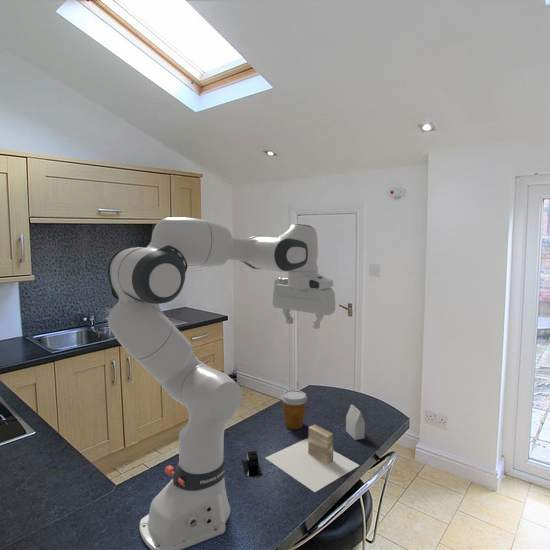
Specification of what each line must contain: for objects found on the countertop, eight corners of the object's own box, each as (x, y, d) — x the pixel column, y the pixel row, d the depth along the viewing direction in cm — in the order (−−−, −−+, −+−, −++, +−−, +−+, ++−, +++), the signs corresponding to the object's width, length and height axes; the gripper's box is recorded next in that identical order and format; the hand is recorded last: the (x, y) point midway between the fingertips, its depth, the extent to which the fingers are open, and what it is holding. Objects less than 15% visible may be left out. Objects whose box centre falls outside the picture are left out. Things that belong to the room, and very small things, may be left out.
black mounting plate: (267, 479, 119) (267, 465, 119) (242, 482, 118) (242, 467, 117) (260, 456, 132) (260, 442, 131) (238, 458, 130) (238, 445, 130)
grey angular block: (354, 440, 141) (355, 413, 140) (345, 431, 147) (346, 404, 146) (364, 438, 142) (365, 411, 141) (354, 429, 148) (355, 403, 147)
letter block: (326, 464, 126) (327, 436, 125) (308, 453, 132) (308, 427, 131) (333, 460, 128) (333, 433, 127) (314, 450, 134) (315, 424, 133)
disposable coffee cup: (311, 423, 152) (311, 393, 151) (298, 434, 144) (299, 402, 143) (289, 417, 158) (289, 387, 156) (276, 427, 150) (276, 396, 148)
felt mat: (314, 492, 113) (314, 492, 113) (264, 458, 129) (264, 457, 129) (359, 465, 126) (359, 465, 126) (309, 437, 142) (309, 437, 142)
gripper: (268, 278, 123) (268, 322, 125) (327, 284, 111) (327, 333, 113) (280, 276, 128) (280, 318, 130) (338, 281, 116) (337, 328, 118)
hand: (302, 325), depth 121 cm, fingers open, 8 cm apart
